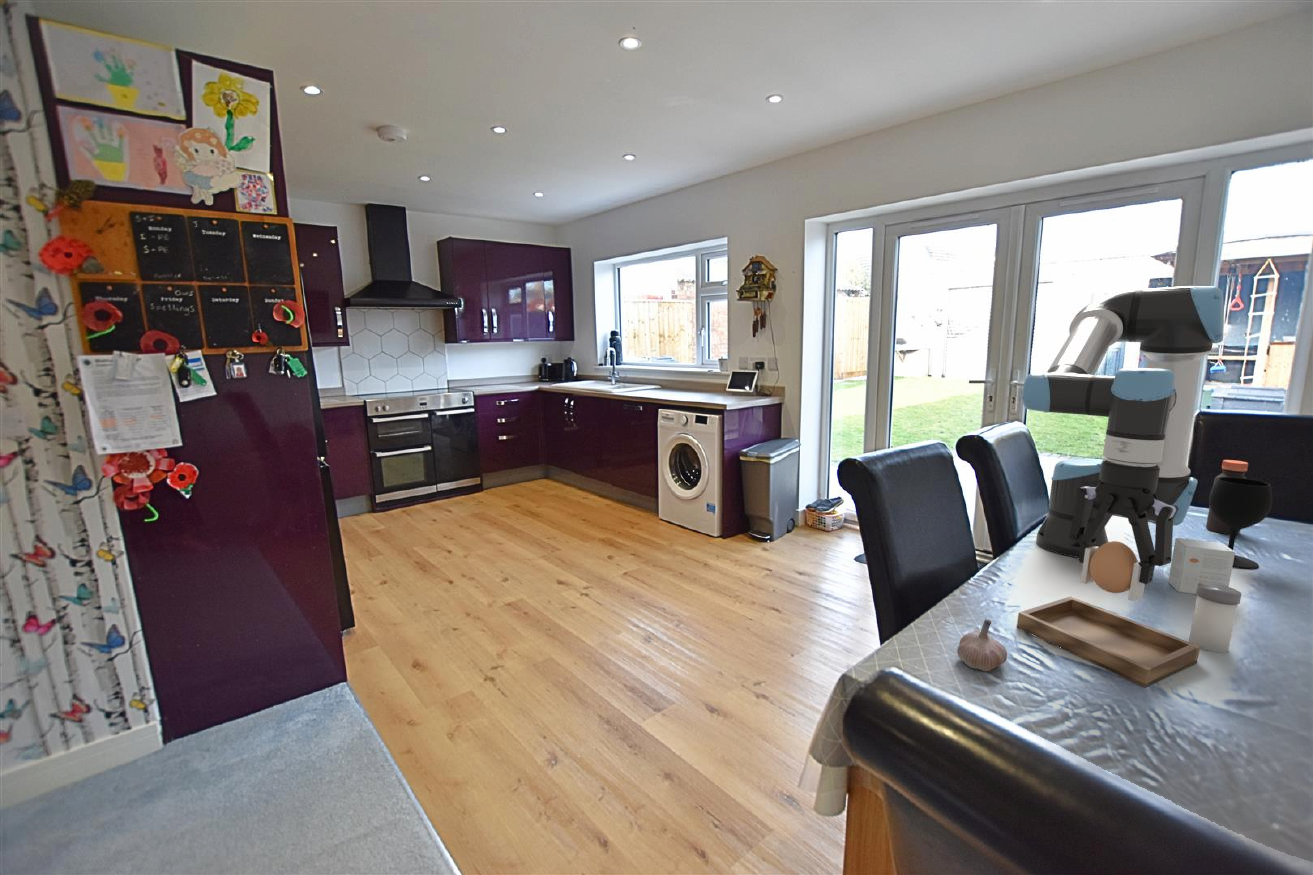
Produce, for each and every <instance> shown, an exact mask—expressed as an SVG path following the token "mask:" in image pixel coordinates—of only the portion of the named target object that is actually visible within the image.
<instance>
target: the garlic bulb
mask: <svg viewBox="0 0 1313 875" xmlns="http://www.w3.org/2000/svg"><path fill="white" fill-rule="evenodd" d="M991 625H992V620H990V619H987V618H985V619H984V621H983V623H982V628H981V631H979V630H978V631H971V632H969V633H967V634H964V635H963V636H962V637H961V638H960V640H959V645H958V647H957V648H956V649H957V651H956V652H957V656H958V657H959V659H960V660H961V661H963V662H964V664H965V665H967V666H968V667H970V668H972V669H975V670H980V671H983V672H990V671H992V670H993V669H995V668H998V667H1000V666H1001V665H1004V664H1005V663H1006V661H1007V659H1008V658H1007V657H1008V652H1007V649H1006V647H1005V646H1004V644H1002V643H1001V642H1000V641H998V640H996V639H994V638H992V637H991V636H990V635H988V633H989V629H990V627H991Z"/></svg>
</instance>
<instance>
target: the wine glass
mask: <svg viewBox="0 0 1313 875" xmlns="http://www.w3.org/2000/svg"><path fill="white" fill-rule="evenodd" d="M1208 498H1209V499H1208V502H1209V505H1208V506H1209V507H1210V508H1211V511H1212V512H1213V514H1214V515H1215V516H1216V517H1217V519H1218V520H1220V521H1221V522H1222V523H1223V524H1224V525H1226V526H1227V527H1228V528H1229V530H1230V534H1229V537H1228V544H1227V547H1229V548H1230V549H1231V550H1233V551H1234V548H1235V543H1236V542H1235V541H1236V538H1237V535H1238V534H1237V533H1238V531H1239V530H1240V531H1241V530H1243V529H1247V528H1250V527H1253V526H1255V525H1257V524H1259V523H1260V522H1262V521H1263V520H1265V519H1266V518H1267V516H1268V515H1269V514H1270V513H1271V512H1270V511H1271V509H1272V507H1273V502H1274V501H1273V490H1272V487H1271V484H1270V483H1268V482H1264V481H1261V480H1257V479H1250V478H1247V479H1244V478H1235V477H1219V478H1218V479H1217V480H1216V482H1215V484H1214V483H1213V486H1212V488H1211V490H1210V493H1209V497H1208ZM1259 567H1260V565H1259V563H1258V562H1256V561H1254V560H1252V559H1250V558H1246V557H1244V556H1241V555H1237V554H1235V556H1234V561H1233V566H1232V569H1233V568H1234V569H1241V570H1256V569H1258V568H1259Z"/></svg>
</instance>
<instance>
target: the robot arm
mask: <svg viewBox="0 0 1313 875" xmlns="http://www.w3.org/2000/svg"><path fill="white" fill-rule="evenodd" d="M1224 305H1225V304H1224V293H1223V291H1222V290H1221V288H1219V287H1217V286H1211V285H1210V286H1206V285H1205V286H1203V285H1202V286H1201V285H1199V286H1198V285H1197V286H1196V285H1188V286H1187V285H1186V286H1173V287H1156V288H1155V287H1154V288H1139V289H1138V288H1132V289H1125V290H1119V291H1115V292H1112V293H1109V294H1107V295H1105V296H1102V297H1100V298H1098V299H1095V301H1092V302H1090V303H1089V304H1088V305H1086V306H1084V307H1083V308H1082V309H1080V310H1079V311H1078V312H1077V313H1076V315H1075V317H1074V318H1073V319H1072V321H1071V322H1070V325H1069V328H1068V329H1069V330H1068V331H1069V335H1068V337H1067V338H1066V340H1065V341H1064V343H1063V345H1062V347H1061V349H1059V351H1058V353H1057V355H1056V357H1055V358H1054V360H1053V362H1052V363H1051V365H1050V366H1049V368H1048V369H1047V371H1046V372H1044V371H1041V372H1031V373H1029V374H1028V375H1027V376H1026V378H1025V379H1024V383H1023V387H1022V393H1021V394H1022V398H1021V400H1022V405H1023V407H1024V408H1025V409H1026V410H1029V411H1035V412H1043V413H1053V414H1065V415H1066V414H1068V415H1069V414H1070V415H1080V416H1081V415H1082V416H1093V417H1106V418H1107V427H1106V430H1105V431H1106V432H1105V439H1104V444H1103V449H1102V450H1103V451H1102V456H1103V457H1104V458H1105V459H1101V458H1072V459H1071V458H1070V459H1064V460H1060V461H1058V462H1057V463H1055V465H1054V469H1053V473H1052V477H1051V486H1050V488H1051V489H1050V495H1049V501H1048V502H1049V503H1048V509H1047V510H1048V512H1047V515H1046V517H1045V518H1044V520H1043V522H1042V524H1041V526H1040V528H1039V529H1038V531H1037V533H1036V539H1035V543H1036V544H1037V545H1038V546H1039V547H1041V548H1043V549H1045V550H1047V551H1051V552H1054V553H1056V554H1060V555H1064V556H1069V557H1073V558H1078V562H1079V563H1081V564H1082V569H1081V570H1082V571H1081V578H1080V583H1081V584H1084V585H1086V584H1089V583H1093V582H1094V580H1093V579H1092V577H1091V574H1090V562H1091V558H1092V556H1093V554H1094V553H1095V552H1096V550H1097V549H1098V548H1099V547H1100V546H1102V545H1103V544H1105V543H1108V542H1109V538H1108V536H1107V534H1108V533H1107V531H1106V526H1107V524H1108V523H1109V521H1110V520H1111V518H1112V517H1119V518H1125V519H1127V520H1128V523H1129V525H1130V526H1131V529H1132V533H1133V537H1134V541H1135V545H1136V549H1137V553H1138V558H1139V561H1138V562H1137V563H1134V568H1133V574H1132V580H1131V586H1130V589H1129V592H1128V593H1129V594H1128V601H1131V602H1132V603H1133V602H1136V601H1139V600H1142V599H1143V598H1144V591H1145V585H1148V584H1150V583H1151V582H1152V581H1153V579H1154V573H1155V568H1156V566H1158V567H1163V566H1165V565H1168V564H1171V562H1172V556H1173V536H1174V535H1173V534H1174V532H1173V531H1174V526H1175V527H1176V526H1178V525H1181V524H1182V523H1183V522H1184V520H1185V518H1186V516H1187V513H1188V511H1189V509H1190V505H1191V502H1192V500H1193V497H1194V495H1195V492H1196V489H1197V486H1198V479H1196V478H1195V477H1192V476H1191V469H1190V468H1189V467H1188V466H1187V465H1185V463H1184V458H1185V457H1184V456H1185V453H1186V452H1185V450H1186V446H1187V439H1188V433H1189V427H1190V421H1191V415H1192V410H1193V405H1194V404H1193V403H1194V399H1195V398H1194V397H1195V391H1196V385H1197V379H1198V374H1199V368H1200V362H1201V359H1202V358H1203V357H1205V356H1206V355H1208V354H1210V353H1211V352H1212V351H1213V350H1212V349H1213V344H1218V343H1219V344H1220V343H1222V342H1223V340H1224V330H1225V329H1224V327H1225V326H1224V324H1225V318H1224V317H1225V311H1224V310H1225V307H1224ZM1118 342H1119V343H1124V342H1125V343H1127V342H1129V343H1140V345H1139V352H1140V353H1141V354H1143V355H1144V356H1145V357H1146V365H1145V367H1125V368H1124V367H1123V368H1120V369H1118V370H1117V371H1116V372H1115V374H1114V375H1103V374H1102V375H1100V374H1096V373H1097V371H1098V369H1099V367H1100V365H1101V364H1102V362H1103V361H1104V358H1105V356H1106V353H1107V351H1108V350H1109V348H1110V346H1112V345H1114V344H1115V343H1118ZM1190 476H1191V477H1190ZM1149 523H1150V524H1154V525H1155V533H1154V534H1155V535H1154V541H1153V538H1152V534H1151V531H1150V525H1149ZM1153 542H1154V543H1153Z"/></svg>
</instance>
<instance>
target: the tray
mask: <svg viewBox="0 0 1313 875" xmlns="http://www.w3.org/2000/svg"><path fill="white" fill-rule="evenodd" d="M1016 621H1017V622H1016V629H1019V630H1021V629H1022V630H1021V631H1023V630H1024V631H1023V632H1025V631H1026V633H1027V634H1030V633H1031V634H1030V635H1032V634H1033V635H1032V636H1034V635H1035V636H1034V637H1036V638H1039V639H1041V640H1042V639H1043V641H1045V642H1047V643H1049V644H1051V645H1053V646H1056V647H1057V646H1058V647H1057V648H1060V647H1061V648H1060V649H1062V650H1065V651H1067V652H1068V651H1069V652H1068V653H1070V654H1072V655H1075V656H1076V657H1079V658H1081V659H1083V660H1086V661H1088V662H1090V663H1091V664H1094V665H1096V666H1098V667H1099V668H1102V669H1105V670H1106V671H1109V672H1111V673H1113V674H1115V675H1117V676H1120V677H1121V678H1124V679H1126V680H1128V681H1131V682H1132V683H1134V684H1137V685H1139V686H1140V687H1143V688H1147V687H1149V686H1151V685H1153V684H1156V683H1157V682H1159V681H1163V680H1164V679H1166V678H1168V677H1170V676H1172V675H1175V674H1176V673H1179V672H1181V671H1183V670H1186V669H1187V668H1190V667H1191V666H1194V665H1196V664H1198V660H1199V654H1200V650H1201V648H1200V646H1198V645H1195V644H1192V643H1191V642H1190V641H1187V640H1184V639H1182V638H1179V637H1176V636H1174V635H1171V634H1169V633H1167V632H1164V631H1161V630H1159V629H1156V628H1154V627H1150V626H1149V625H1145V624H1143V623H1140V622H1138V621H1135V620H1132V619H1130V618H1128V617H1124V616H1122V615H1120V614H1117V613H1114V612H1112V611H1110V610H1106V609H1104V608H1101V607H1098V606H1096V605H1094V604H1091V603H1088V602H1086V601H1083V600H1081V599H1078V598H1076V597H1073V596H1067V597H1064V598H1060V599H1057V600H1054V601H1050V602H1048V603H1045V604H1041V605H1039V606H1035V607H1032V608H1028V609H1024V610H1023V611H1020V612H1018V616H1017V620H1016Z"/></svg>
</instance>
